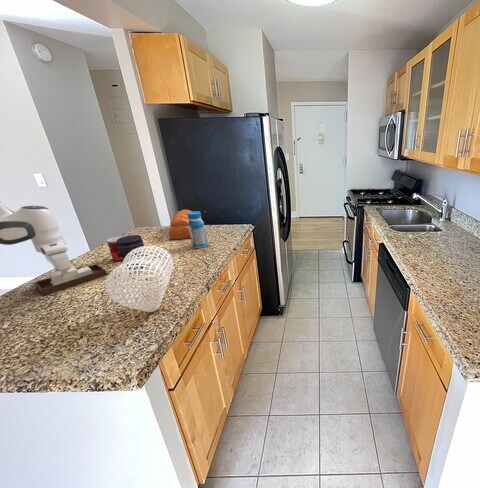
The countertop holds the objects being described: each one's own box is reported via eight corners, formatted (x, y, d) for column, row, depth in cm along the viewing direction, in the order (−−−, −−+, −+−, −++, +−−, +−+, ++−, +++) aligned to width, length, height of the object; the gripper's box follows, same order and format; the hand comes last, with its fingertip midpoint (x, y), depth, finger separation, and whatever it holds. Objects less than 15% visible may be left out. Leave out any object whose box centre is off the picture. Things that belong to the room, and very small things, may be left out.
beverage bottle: (200, 249, 147) (194, 215, 140) (189, 247, 150) (181, 213, 142) (211, 243, 155) (205, 211, 147) (200, 242, 157) (193, 210, 150)
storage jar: (144, 260, 133) (136, 233, 128) (153, 265, 128) (145, 237, 122) (122, 268, 126) (112, 239, 120) (130, 273, 121) (120, 244, 115)
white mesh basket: (170, 330, 85) (152, 269, 76) (113, 341, 80) (88, 278, 72) (184, 287, 109) (172, 238, 101) (141, 293, 105) (125, 243, 96)
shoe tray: (43, 296, 104) (40, 290, 103) (36, 287, 110) (34, 282, 109) (107, 274, 120) (105, 269, 119) (98, 268, 126) (96, 263, 125)
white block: (55, 287, 108) (50, 277, 106) (51, 284, 111) (46, 273, 109) (93, 275, 118) (90, 265, 116) (89, 272, 121) (85, 262, 119)
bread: (200, 223, 192) (197, 206, 187) (195, 237, 164) (191, 217, 159) (177, 225, 187) (173, 208, 182) (168, 240, 160) (163, 220, 155)
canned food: (119, 255, 139) (112, 236, 135) (134, 254, 140) (128, 235, 136) (109, 261, 132) (102, 241, 128) (126, 261, 133) (119, 241, 129)
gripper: (33, 241, 109) (46, 270, 114) (46, 252, 99) (59, 284, 104) (53, 237, 114) (65, 265, 119) (68, 247, 104) (80, 277, 109)
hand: (62, 274), depth 111 cm, fingers open, 8 cm apart
